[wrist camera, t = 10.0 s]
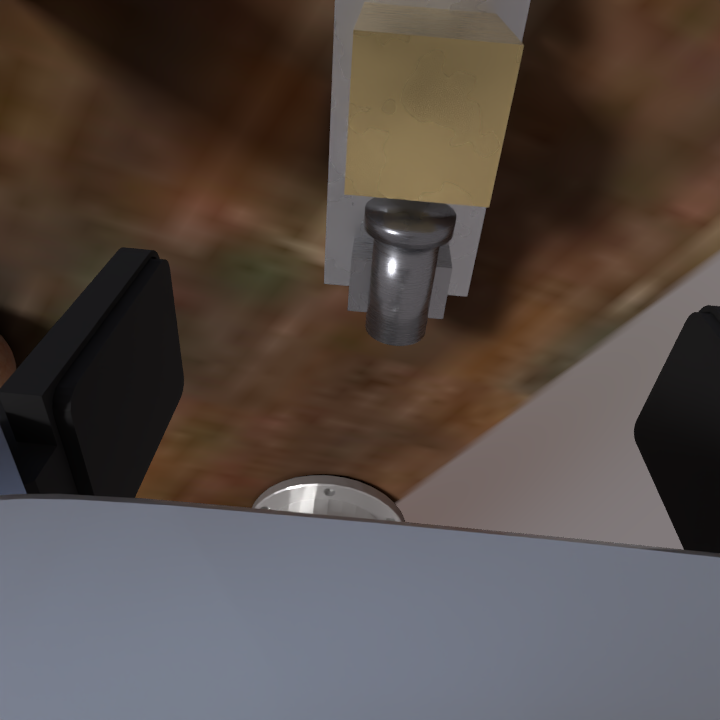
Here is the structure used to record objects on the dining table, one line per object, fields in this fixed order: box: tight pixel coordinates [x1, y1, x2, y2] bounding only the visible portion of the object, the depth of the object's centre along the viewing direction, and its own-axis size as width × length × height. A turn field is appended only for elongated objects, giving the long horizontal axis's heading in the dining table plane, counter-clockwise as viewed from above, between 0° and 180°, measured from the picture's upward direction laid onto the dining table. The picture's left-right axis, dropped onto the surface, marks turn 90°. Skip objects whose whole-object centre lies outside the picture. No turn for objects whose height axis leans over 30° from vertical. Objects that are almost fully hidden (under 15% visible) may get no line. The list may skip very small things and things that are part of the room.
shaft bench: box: [324, 0, 531, 346], centre depth 24 cm, size 22×8×7 cm, turn 176°
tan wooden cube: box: [344, 2, 524, 207], centre depth 23 cm, size 6×6×7 cm
